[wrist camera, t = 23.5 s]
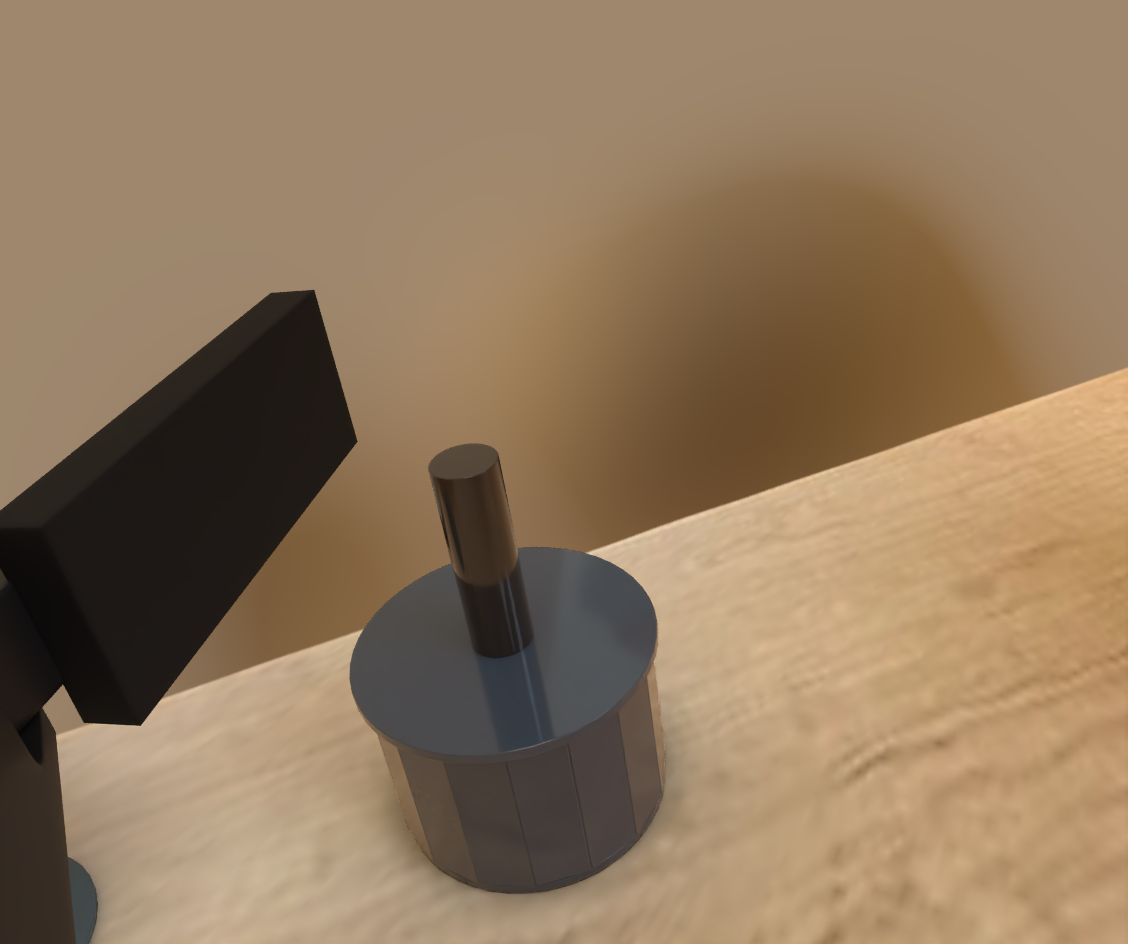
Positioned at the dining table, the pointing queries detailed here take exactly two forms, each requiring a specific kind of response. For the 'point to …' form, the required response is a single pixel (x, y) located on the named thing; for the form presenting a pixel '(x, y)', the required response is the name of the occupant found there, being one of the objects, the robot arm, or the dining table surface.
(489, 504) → the lid
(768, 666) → the dining table surface
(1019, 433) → the dining table surface
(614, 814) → the canister
